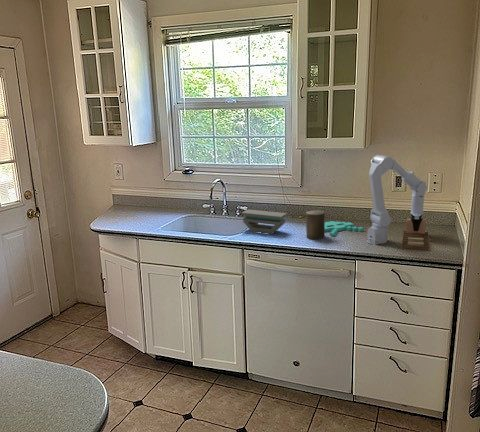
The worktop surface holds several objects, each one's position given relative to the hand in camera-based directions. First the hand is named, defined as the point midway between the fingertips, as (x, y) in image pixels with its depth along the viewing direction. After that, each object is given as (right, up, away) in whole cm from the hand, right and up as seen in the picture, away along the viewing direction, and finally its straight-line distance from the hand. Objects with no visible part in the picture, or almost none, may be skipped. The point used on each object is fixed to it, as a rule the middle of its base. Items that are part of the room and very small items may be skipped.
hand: (415, 229), depth 230 cm
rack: (-3, -7, -8) cm, 11 cm away
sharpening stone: (-77, -2, +24) cm, 81 cm away
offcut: (-4, -7, -11) cm, 13 cm away
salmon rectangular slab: (0, -3, +1) cm, 4 cm away
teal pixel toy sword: (-36, -1, +21) cm, 42 cm away
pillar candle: (-50, -5, +10) cm, 51 cm away
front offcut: (-7, -9, -17) cm, 20 cm away
